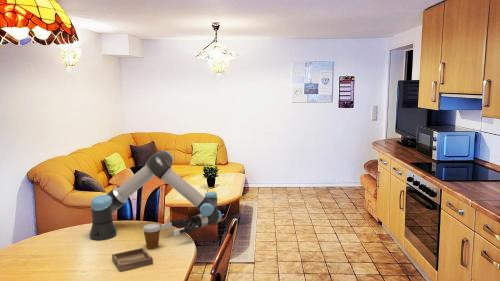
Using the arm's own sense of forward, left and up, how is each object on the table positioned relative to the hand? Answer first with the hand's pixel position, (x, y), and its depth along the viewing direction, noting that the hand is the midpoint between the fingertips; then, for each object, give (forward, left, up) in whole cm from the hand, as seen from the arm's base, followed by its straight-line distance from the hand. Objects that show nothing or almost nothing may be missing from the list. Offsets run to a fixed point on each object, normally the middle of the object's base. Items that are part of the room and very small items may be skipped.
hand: (167, 230), depth 229 cm
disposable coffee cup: (+2, -10, -7) cm, 12 cm away
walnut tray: (+15, -25, -7) cm, 30 cm away
